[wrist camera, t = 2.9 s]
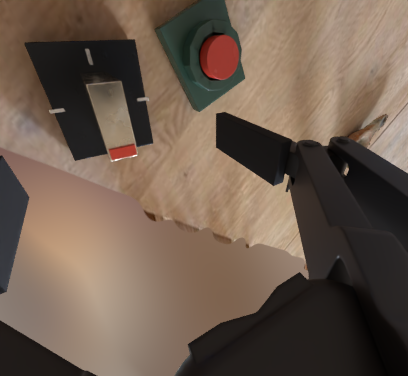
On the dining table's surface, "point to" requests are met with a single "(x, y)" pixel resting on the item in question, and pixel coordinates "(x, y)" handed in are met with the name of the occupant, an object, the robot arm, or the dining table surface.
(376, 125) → the oil lamp
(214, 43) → the button
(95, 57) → the black stand base
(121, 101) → the silver rectangular block
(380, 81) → the dining table surface
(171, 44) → the button housing
